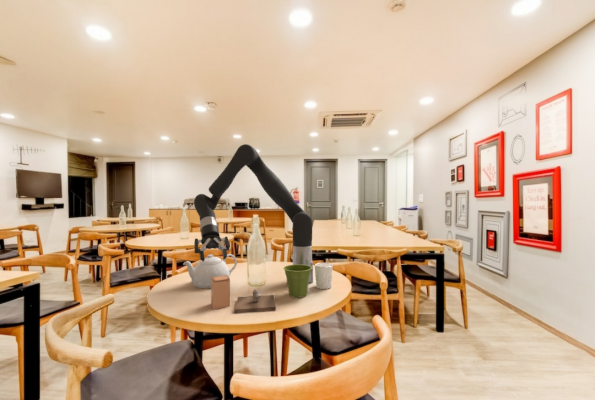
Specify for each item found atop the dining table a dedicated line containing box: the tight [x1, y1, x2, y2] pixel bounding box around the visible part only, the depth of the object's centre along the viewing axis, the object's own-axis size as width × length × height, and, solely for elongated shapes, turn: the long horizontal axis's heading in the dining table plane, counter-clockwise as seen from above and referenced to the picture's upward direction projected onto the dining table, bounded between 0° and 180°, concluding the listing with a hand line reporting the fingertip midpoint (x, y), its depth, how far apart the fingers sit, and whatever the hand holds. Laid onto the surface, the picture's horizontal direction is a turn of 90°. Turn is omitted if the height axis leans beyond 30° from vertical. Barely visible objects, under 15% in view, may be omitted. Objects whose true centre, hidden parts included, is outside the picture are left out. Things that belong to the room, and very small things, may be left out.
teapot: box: [182, 253, 238, 289], centre depth 123 cm, size 19×18×14 cm
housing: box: [210, 275, 231, 310], centre depth 96 cm, size 6×6×10 cm
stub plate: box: [234, 288, 277, 314], centre depth 96 cm, size 14×12×6 cm
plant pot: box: [282, 264, 312, 299], centre depth 106 cm, size 12×12×11 cm
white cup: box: [314, 262, 333, 290], centre depth 116 cm, size 8×8×10 cm
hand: (214, 259), depth 106 cm, fingers open, 8 cm apart
